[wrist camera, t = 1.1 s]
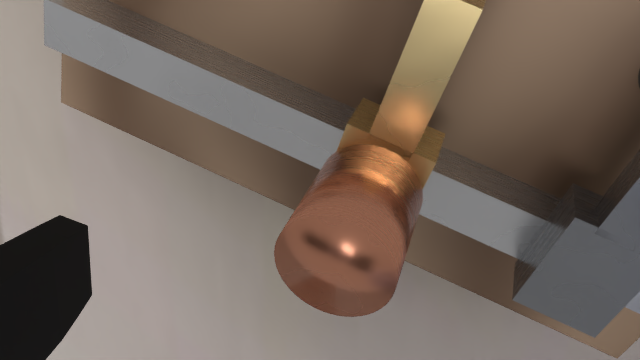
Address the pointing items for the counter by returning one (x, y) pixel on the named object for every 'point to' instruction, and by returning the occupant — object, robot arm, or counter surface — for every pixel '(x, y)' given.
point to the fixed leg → (585, 256)
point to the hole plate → (448, 117)
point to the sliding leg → (376, 177)
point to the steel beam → (284, 115)
